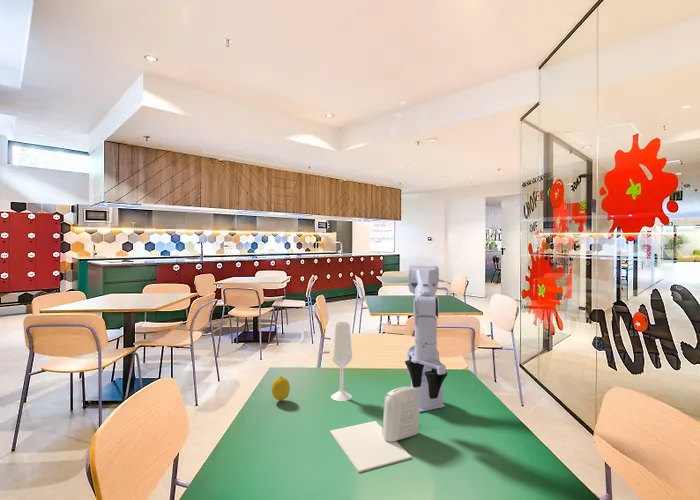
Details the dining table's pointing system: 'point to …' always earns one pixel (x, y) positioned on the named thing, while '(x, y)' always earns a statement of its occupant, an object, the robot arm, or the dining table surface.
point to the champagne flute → (341, 355)
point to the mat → (368, 446)
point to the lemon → (280, 388)
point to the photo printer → (401, 413)
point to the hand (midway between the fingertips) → (424, 392)
